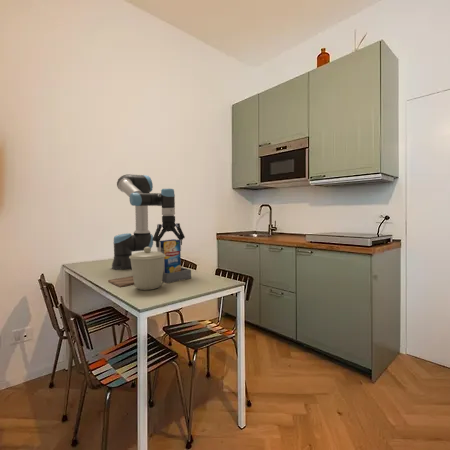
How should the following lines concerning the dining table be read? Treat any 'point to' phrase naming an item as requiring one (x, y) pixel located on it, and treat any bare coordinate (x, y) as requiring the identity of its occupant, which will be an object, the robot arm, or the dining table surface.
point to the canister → (147, 269)
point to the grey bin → (176, 275)
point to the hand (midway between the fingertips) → (169, 251)
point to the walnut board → (122, 281)
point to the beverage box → (171, 255)
